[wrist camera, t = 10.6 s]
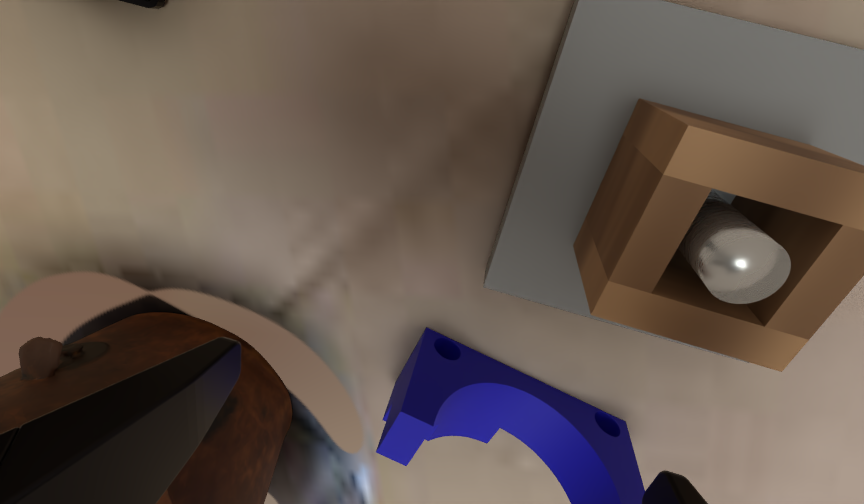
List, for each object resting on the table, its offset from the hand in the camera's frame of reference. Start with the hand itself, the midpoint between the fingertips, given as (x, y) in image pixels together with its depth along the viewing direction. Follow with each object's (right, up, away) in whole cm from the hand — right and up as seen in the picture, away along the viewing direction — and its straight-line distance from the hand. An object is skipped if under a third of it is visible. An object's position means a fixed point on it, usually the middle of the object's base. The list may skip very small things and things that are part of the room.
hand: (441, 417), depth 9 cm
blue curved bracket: (+4, -5, +16) cm, 17 cm away
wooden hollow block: (+9, +5, +7) cm, 13 cm away
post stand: (+9, +6, +9) cm, 14 cm away
